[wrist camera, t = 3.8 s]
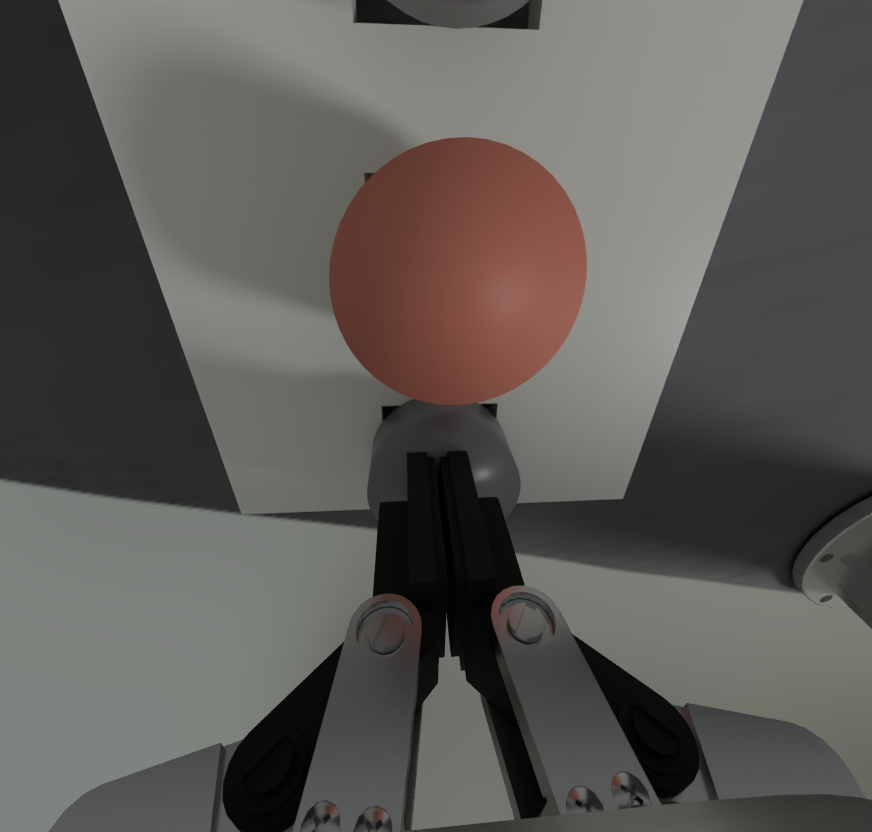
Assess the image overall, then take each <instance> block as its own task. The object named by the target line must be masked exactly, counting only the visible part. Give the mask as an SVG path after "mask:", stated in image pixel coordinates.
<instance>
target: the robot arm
mask: <svg viewBox="0 0 872 832" xmlns="http://www.w3.org/2000/svg"><path fill="white" fill-rule="evenodd" d="M407 500H408V501H391V502H380V505H379V517H378V531H377V547H376V560H375V561H376V562H375V574H374V588H373V597H372V598H370V599H368V600H367V601H365V602H364V603H363V604H361V605H360V606H359V608H358V609H357V610H356V611H355V613H354V614H353V616H352V619H351V621H350V623H349V626H348V630H347V633H346V637H345V641H344V642H343V643H342V644H341V645H340V646H339V647H338V648H337V649H336V650H335V651H334V652H333V653H332V654H331V655H330V656H329V657H327V659H325V660H324V661H323V662H322V663H321V664H320V665H319V666H318V667H317V668H316V669H315V670H314V671H313V672H312V673H311V674H310V675H309V676H308V677H307V678H306V679H305V680H303V682H301V683H300V685H298V686H297V687H296V688H295V689H294V690H293V691H292V692H291V693H290V694H289V695H288V696H287V697H286V698H285V699H284V700H283V701H282V702H281V703H280V704H278V705H277V706H276V707H275V708H274V709H273V710H272V711H271V712H270V713H269V714H268V715H267V716H266V717H265V718H264V719H263V720H262V721H261V722H260V723H259V724H258V725H257V726H255V727H254V728H253V729H252V730H251V731H250V732H249V733H248V735H247V736H246V737H245V738H244V739H243V740H241V741H238V742H235V743H232V744H229V745H226V746H223V745H222V744H221V743H219V744H216V745H213V746H210V747H207V748H204V749H201V750H199V751H196V752H193V753H190V754H188V755H184V756H182V757H179V758H176V759H173V760H170V761H167V762H165V763H162V764H159V765H156V766H153V767H151V768H147V769H144V770H142V771H139V772H136V773H133V774H130V775H128V776H125V777H122V778H119V779H116V780H113V781H110V782H107V783H105V784H102V785H100V786H98V787H96V788H94V789H92V790H91V791H89V792H87V793H85V794H83V795H82V796H81V797H80V798H79V799H78V800H76V801H75V802H74V803H73V804H72V805H71V806H70V807H68V808H67V809H66V810H65V811H64V812H63V814H62V815H61V816H60V817H59V819H58V820H57V821H56V823H55V824H54V825H53V826H52V828H51V829H50V830H49V831H48V832H872V800H870V799H866V798H865V796H864V794H863V793H862V791H861V790H860V787H859V786H858V784H857V782H856V781H855V779H854V777H853V775H852V774H851V772H850V770H849V769H848V768H847V766H846V765H845V763H844V762H843V761H842V759H841V758H840V757H839V755H838V754H837V753H836V752H835V751H834V750H833V749H832V748H831V747H830V746H829V745H828V744H827V743H826V742H825V741H824V740H823V739H821V738H820V737H818V736H816V735H815V734H814V733H812V732H811V731H809V730H807V729H806V728H804V727H801V726H798V725H796V724H793V723H790V722H786V721H781V720H775V719H770V718H765V717H759V716H754V715H748V714H743V713H737V712H732V711H727V710H722V709H716V708H711V707H705V706H700V705H695V704H690V703H686V705H685V706H684V707H681V706H676V705H671V704H670V703H669V702H668V701H667V700H666V699H664V698H663V697H662V696H660V695H659V694H658V693H656V692H655V691H653V690H652V689H650V688H649V687H647V686H646V685H644V684H643V683H642V682H640V681H639V680H637V679H636V678H634V677H633V676H632V675H630V674H629V673H627V672H626V671H624V670H623V669H622V668H620V667H619V666H617V665H616V664H614V663H613V662H612V661H610V660H609V659H607V658H606V657H604V656H603V655H602V654H600V653H599V652H597V651H596V650H594V649H593V648H591V647H590V646H589V645H587V644H586V643H584V642H583V641H581V640H580V639H579V638H577V637H576V636H574V635H573V634H572V633H571V631H570V629H569V627H568V625H567V623H566V621H565V620H564V618H563V616H562V614H561V612H560V610H559V609H558V607H557V606H556V604H555V603H554V602H553V601H552V599H550V598H549V597H548V596H547V595H546V594H545V593H543V592H541V591H539V590H537V589H535V588H532V587H528V586H525V585H524V582H523V578H522V575H521V571H520V568H519V565H518V562H517V559H516V555H515V552H514V548H513V545H512V542H511V538H510V535H509V532H508V528H507V525H506V522H505V518H504V515H503V512H502V508H501V505H500V502H499V499H498V498H497V497H481V498H478V495H477V490H476V486H475V482H474V478H473V474H472V469H471V465H470V461H469V457H468V453H467V451H447V457H440V461H439V496H438V487H437V478H436V470H435V461H434V457H427V455H426V452H417V453H407ZM792 574H793V581H794V583H795V585H796V587H797V588H798V589H799V590H800V591H801V592H802V593H803V594H804V595H805V596H806V597H807V598H808V599H809V600H810V601H812V602H814V603H815V604H818V605H822V606H826V607H831V608H851V609H852V610H853V611H854V612H855V613H856V614H857V615H858V616H859V617H860V618H861V619H862V620H863V621H864V622H865V623H866V624H867V625H868V626H869V627H870V628H871V629H872V496H871V497H869V498H867V499H865V500H863V501H861V502H859V503H857V504H855V505H854V506H852V507H850V508H849V509H847V510H845V511H844V512H842V513H840V514H839V515H838V516H836V517H835V518H834V519H832V520H831V521H830V522H828V523H827V524H826V525H824V526H823V527H822V528H821V529H820V530H819V531H818V532H817V533H816V534H815V535H814V536H812V537H811V539H810V540H809V541H808V542H807V543H806V545H805V546H804V547H803V548H802V549H801V551H800V553H799V555H798V556H797V558H796V560H795V563H794V567H793V571H792ZM446 613H447V622H448V633H449V642H450V652H451V657H455V656H459V658H460V666H461V671H462V670H465V673H466V680H467V682H469V683H470V684H471V685H472V686H473V687H474V688H475V689H476V690H477V691H478V692H479V693H480V696H481V702H482V705H483V709H484V713H485V716H486V720H487V723H488V727H489V730H490V734H491V737H492V741H493V744H494V747H495V751H496V755H497V759H498V762H499V766H500V769H501V773H502V776H503V780H504V783H505V787H506V790H507V794H508V798H509V801H510V805H511V808H512V812H513V815H514V819H515V820H508V821H499V822H489V823H480V824H471V825H460V826H451V827H441V828H432V829H423V830H413V831H412V819H413V809H414V798H415V787H416V776H417V765H418V764H417V763H418V753H419V742H420V730H421V720H422V708H423V702H424V700H425V699H426V698H427V697H428V695H429V694H430V693H431V691H432V690H433V689H434V687H435V686H436V685H437V684H438V664H439V658H441V657H444V655H445V633H446Z"/></svg>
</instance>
